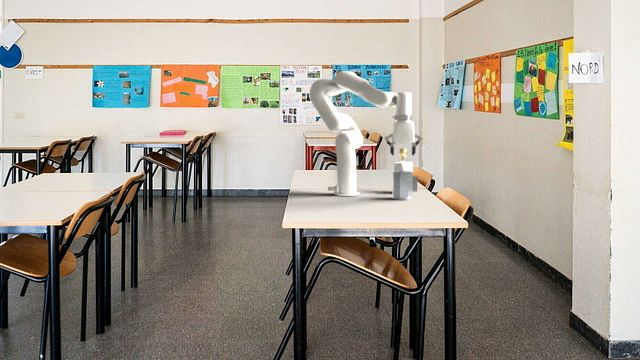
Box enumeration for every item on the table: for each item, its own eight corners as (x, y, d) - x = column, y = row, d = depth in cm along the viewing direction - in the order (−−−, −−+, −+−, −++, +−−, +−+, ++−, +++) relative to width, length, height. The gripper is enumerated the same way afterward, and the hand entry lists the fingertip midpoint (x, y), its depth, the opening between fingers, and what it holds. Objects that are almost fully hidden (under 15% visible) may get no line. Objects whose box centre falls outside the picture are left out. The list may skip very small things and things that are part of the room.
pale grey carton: (393, 200, 295) (394, 172, 293) (391, 197, 304) (391, 170, 303) (418, 200, 295) (418, 172, 293) (415, 197, 304) (415, 170, 303)
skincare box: (405, 194, 314) (405, 162, 312) (392, 193, 318) (393, 162, 316) (413, 192, 321) (413, 161, 319) (401, 191, 325) (401, 160, 323)
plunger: (396, 182, 296) (397, 148, 294) (395, 180, 302) (395, 147, 300) (409, 182, 296) (410, 148, 294) (407, 180, 302) (408, 147, 300)
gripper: (385, 119, 291) (385, 155, 293) (423, 118, 291) (422, 155, 293) (384, 118, 299) (383, 154, 301) (420, 118, 299) (419, 154, 301)
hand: (402, 155), depth 297 cm, fingers open, 9 cm apart
